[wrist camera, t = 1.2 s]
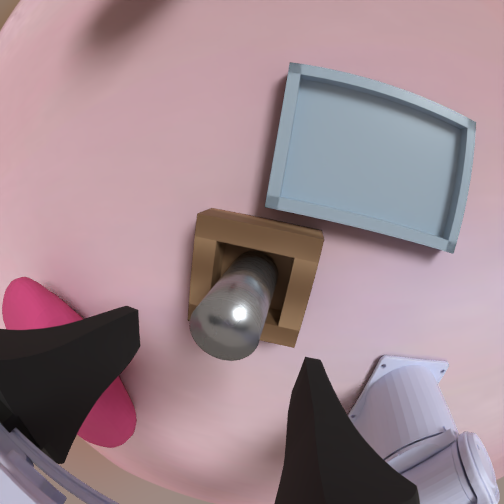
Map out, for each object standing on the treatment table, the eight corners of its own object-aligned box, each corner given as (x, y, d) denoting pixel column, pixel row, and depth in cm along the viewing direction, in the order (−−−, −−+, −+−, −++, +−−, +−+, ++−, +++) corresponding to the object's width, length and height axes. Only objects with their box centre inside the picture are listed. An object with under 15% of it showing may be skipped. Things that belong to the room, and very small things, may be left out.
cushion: (35, 240, 23) (-28, 277, 14) (166, 315, 23) (105, 397, 14) (57, 362, 33) (24, 398, 24) (151, 420, 32) (124, 470, 23)
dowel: (273, 298, 20) (252, 367, 13) (229, 288, 21) (188, 349, 13) (282, 256, 19) (265, 310, 11) (235, 246, 19) (191, 291, 12)
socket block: (296, 327, 21) (294, 347, 18) (200, 304, 22) (187, 320, 19) (321, 230, 18) (324, 239, 16) (211, 208, 20) (197, 213, 17)
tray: (444, 247, 17) (453, 253, 15) (268, 204, 19) (264, 207, 17) (465, 124, 14) (475, 122, 12) (291, 70, 16) (289, 62, 14)
